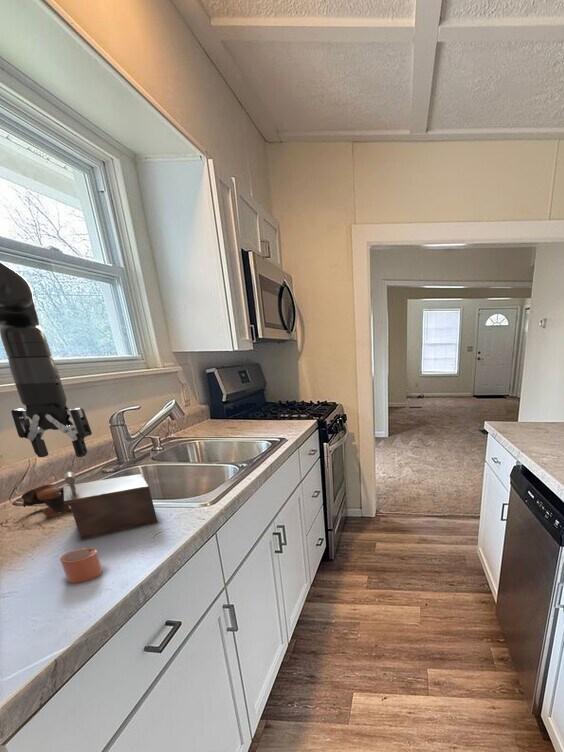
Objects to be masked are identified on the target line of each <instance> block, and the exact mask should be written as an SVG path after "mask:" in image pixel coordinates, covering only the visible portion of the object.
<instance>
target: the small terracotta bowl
mask: <svg viewBox="0 0 564 752" xmlns="http://www.w3.org/2000/svg"><path fill="white" fill-rule="evenodd" d="M59 561H60V565H61V567H62V569H63V572H64V575H65V578H66V580H67V582H68V583H72V584H79V583H84V582H87V581H90V580H93V579H95V578H97V577H99V576H100V575H101V574H103V567H102V564H101V561H100V558H99V555H98V551H97V549H96V548H93V547H82V548H77V549H74V550H71V551H69V552H66V553H64V554H62V556H60V557H59Z"/></svg>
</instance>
